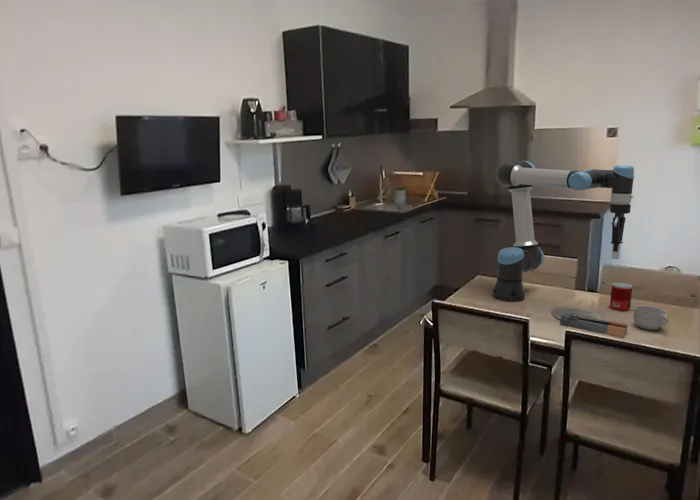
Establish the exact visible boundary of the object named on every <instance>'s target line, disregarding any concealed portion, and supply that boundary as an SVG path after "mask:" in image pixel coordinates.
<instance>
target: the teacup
mask: <svg viewBox="0 0 700 500" xmlns="http://www.w3.org/2000/svg"><path fill="white" fill-rule="evenodd" d="M633 321H634V323H635V324H636V326H638V327H639V328H641V329H644V330H649V331H652V330H653V331H654V330H657V329H659V328H662V327H663V326H666V325H668V324H669V322H670V319H669V316H668V315H667V314H666V310H665V309H663V308H660V307H657V306H652V305H645V304H644V305H643V304H639V305H634V311H633Z"/></svg>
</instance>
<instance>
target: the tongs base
mask: <svg viewBox="0 0 700 500" xmlns="http://www.w3.org/2000/svg"><path fill="white" fill-rule="evenodd" d="M571 314H573V313H571V312H568V311H565V312H564V313H563V314H561V316H560V324H559V325H561V326H566V327H569V328H570V327H571V328H577V329H582V330H586V331H591V332H595V333H600V334H603V335H604V334H605V335H609V336H614V337H618V338H625V337H626V334H627V333H626V328H623V327H617V326H612V325H604V324H599V323H594V322H589V321H584V320H579V319H577V318H572V317H571Z"/></svg>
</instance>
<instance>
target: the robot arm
mask: <svg viewBox="0 0 700 500" xmlns="http://www.w3.org/2000/svg"><path fill="white" fill-rule="evenodd" d="M495 179H496V181H497V182H498V184H499V185H502V186H504V187H507V190H508V192H510V193H511V201H512V211H513V212H512V213H513V222H514V233H515V234H514V235H515V242H514V243H513V246H512V247H504V248H502V249H500V250H499V251H498V253H497V267H496V282H495V284H494V286H493V288H492V293H491V294H492V297H493V298H494V299H496V300H497V301H498V300H499V301H503V302H520V301H523V300H525V299H526V291H525V288H524V284H523V275H524V273H527V272H532V271H535V270H537V269H539V268H540V267H541V266H542V265H543V263H544V259H545V255H544V251H543V250H542V249H541V247H539V242H537V241H536V240H535V231H534V220H533V211H532V210H533V209H532V198H531V191H532V189H533V188H534V186H536V187H549V188H550V187H551V188H560V189H570V190H575V191H585V190H590V189H597V188H600V189H601V188H602V189H611V193H610V204H609V205H610V206H609V212H610V213H612V214H614V216H613V218H612V221H611V225H612V226H611V227H612V228H611V229H612V231H611V242H610V244H611V246H612V247H611V259H612V260H619V259H620V255H621V253H620V252H621V244H624V242H623V236H624V230H625V229H624V228H625V223H626V221H627V219H626V217H625V214H626V215H628V214H630V213H631V207H632V206H631V205H632V204H631V203H632V199H633V198H634V196H633V195H632V194H633V186H634V179H635V167H634V166H632V165H615V166H614V167H613V169H612V170H611V169H608V170H607V169H598V168H596V169H595V168H592V169H586V170H568V169H566V170H565V169H552V168H551V169H549V168H536V167H535V165H534V164H533V163H532V162H530V161H528V160H513V161H512V160H511V161H504V162H502V163H500V165H499V166H497V168H496V170H495Z"/></svg>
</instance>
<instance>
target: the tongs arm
mask: <svg viewBox="0 0 700 500" xmlns="http://www.w3.org/2000/svg"><path fill="white" fill-rule="evenodd" d="M571 317H572V318H574V319H579V320H584V321H589V322H594V323H599V324H604V325H612V326H617V327H623V328H626V333H625V334H627V332H628V326H629V324H628V323H624V322H618V321H612V320H611V321H610V320H605V319H597V318H592V317H586V316H581V315H579V314H577V313H572V314H571Z"/></svg>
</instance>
